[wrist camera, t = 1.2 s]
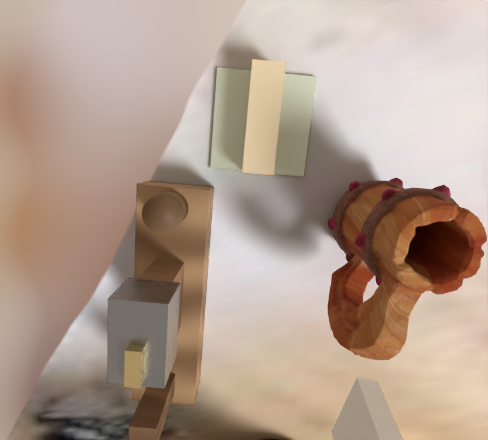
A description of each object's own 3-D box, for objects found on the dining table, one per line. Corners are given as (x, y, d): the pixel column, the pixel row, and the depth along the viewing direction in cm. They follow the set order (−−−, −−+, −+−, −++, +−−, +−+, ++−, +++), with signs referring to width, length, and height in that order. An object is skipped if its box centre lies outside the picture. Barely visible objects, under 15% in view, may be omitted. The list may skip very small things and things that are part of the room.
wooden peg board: (200, 380, 38) (180, 466, 28) (143, 374, 38) (102, 459, 28) (213, 186, 34) (197, 200, 23) (149, 180, 34) (103, 191, 23)
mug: (353, 159, 33) (438, 158, 18) (417, 195, 34) (550, 223, 19) (285, 273, 36) (310, 354, 21) (345, 305, 36) (412, 405, 21)
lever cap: (176, 356, 28) (161, 396, 23) (127, 351, 28) (102, 390, 23) (180, 282, 26) (165, 309, 22) (129, 277, 26) (102, 303, 22)
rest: (303, 176, 33) (310, 178, 29) (210, 167, 33) (205, 169, 29) (315, 77, 31) (325, 65, 28) (217, 68, 31) (213, 55, 28)
